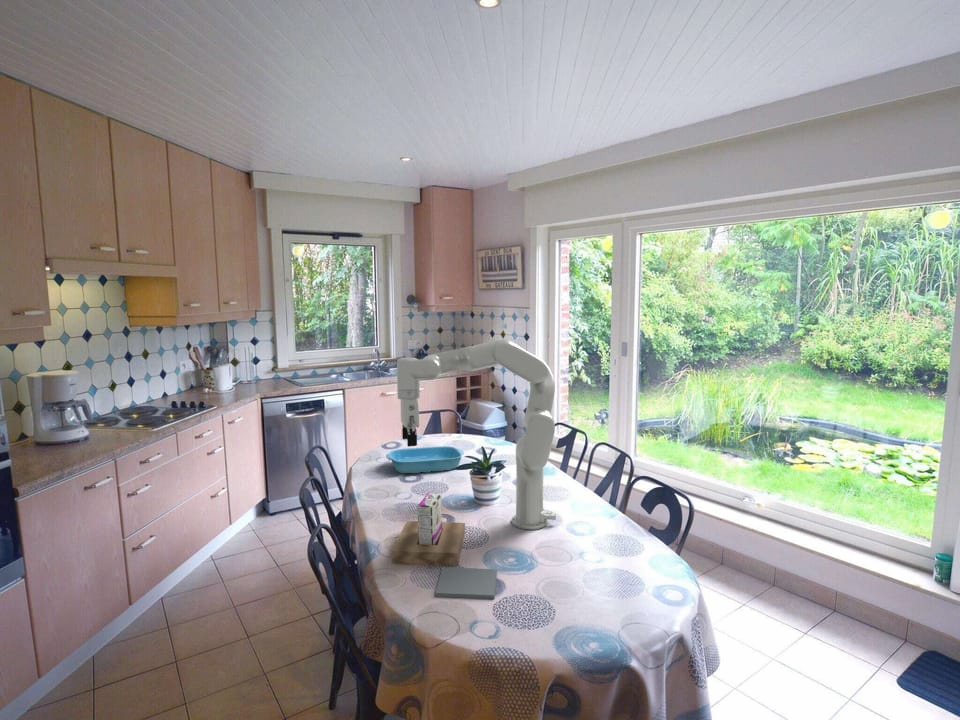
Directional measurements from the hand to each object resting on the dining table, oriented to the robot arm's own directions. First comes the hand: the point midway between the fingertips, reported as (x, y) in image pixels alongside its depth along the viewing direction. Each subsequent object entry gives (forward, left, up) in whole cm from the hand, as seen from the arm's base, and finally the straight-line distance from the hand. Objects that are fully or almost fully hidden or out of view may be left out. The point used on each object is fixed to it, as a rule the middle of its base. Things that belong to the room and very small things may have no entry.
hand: (409, 442), depth 189 cm
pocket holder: (-10, +16, -30) cm, 36 cm away
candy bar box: (-10, +16, -30) cm, 36 cm away
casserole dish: (+6, -66, -31) cm, 73 cm away
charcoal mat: (-24, +37, -30) cm, 54 cm away
